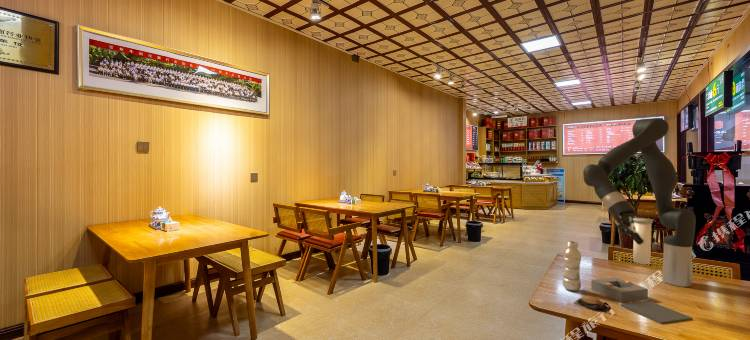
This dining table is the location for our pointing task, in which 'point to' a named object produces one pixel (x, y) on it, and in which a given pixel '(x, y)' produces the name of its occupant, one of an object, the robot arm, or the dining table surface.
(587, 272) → the dining table surface
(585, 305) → the dark brown curved piece
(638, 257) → the cylinder
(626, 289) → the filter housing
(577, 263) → the plastic bottle
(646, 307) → the rubber mat
